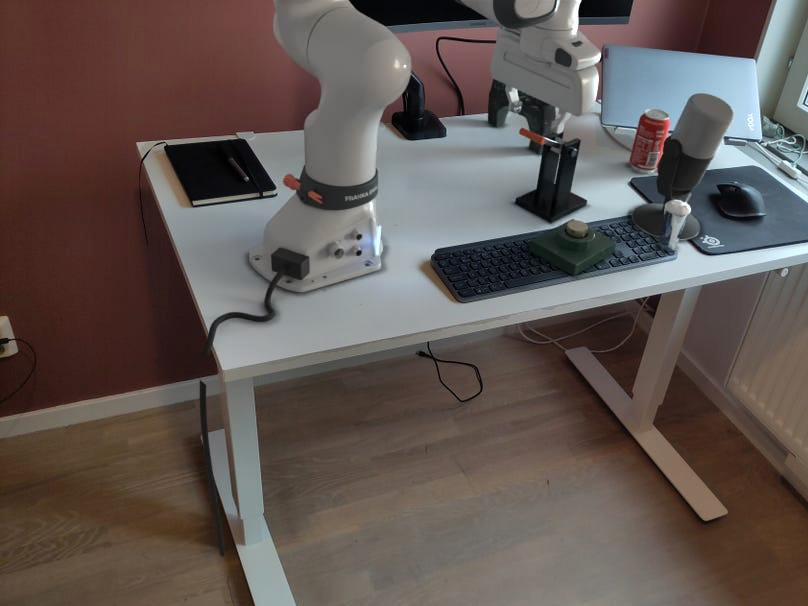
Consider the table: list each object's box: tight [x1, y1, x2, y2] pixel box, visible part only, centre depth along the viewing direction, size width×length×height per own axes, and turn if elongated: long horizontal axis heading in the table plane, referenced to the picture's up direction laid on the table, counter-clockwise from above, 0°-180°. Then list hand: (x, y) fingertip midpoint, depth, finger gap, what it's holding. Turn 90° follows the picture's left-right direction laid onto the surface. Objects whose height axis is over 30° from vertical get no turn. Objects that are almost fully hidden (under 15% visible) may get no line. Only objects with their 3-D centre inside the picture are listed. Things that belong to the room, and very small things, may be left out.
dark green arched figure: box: [487, 78, 557, 155], centre depth 173 cm, size 20×6×20 cm, turn 39°
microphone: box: [631, 92, 735, 242], centre depth 150 cm, size 13×13×25 cm
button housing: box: [528, 218, 617, 277], centre depth 145 cm, size 12×10×4 cm
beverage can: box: [629, 108, 671, 174], centre depth 172 cm, size 6×6×12 cm
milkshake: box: [657, 192, 692, 252], centre depth 148 cm, size 5×5×10 cm
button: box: [566, 219, 589, 239], centre depth 144 cm, size 4×4×2 cm
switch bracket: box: [514, 131, 588, 224], centre depth 154 cm, size 11×9×14 cm
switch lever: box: [518, 127, 568, 154], centre depth 147 cm, size 12×5×2 cm, turn 138°
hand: (535, 121), depth 141 cm, fingers open, 8 cm apart
